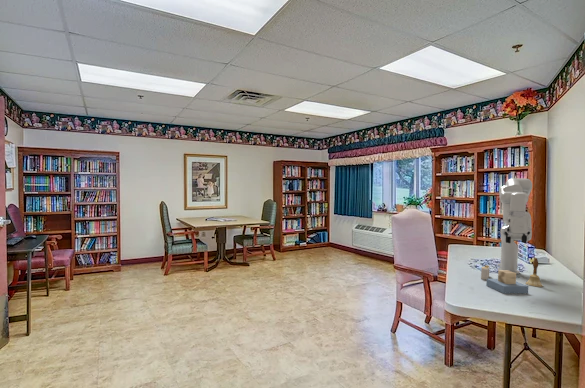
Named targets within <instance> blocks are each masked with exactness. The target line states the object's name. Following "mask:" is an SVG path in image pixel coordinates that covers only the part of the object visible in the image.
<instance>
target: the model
mask: <svg viewBox="0 0 585 388" xmlns="http://www.w3.org/2000/svg"><path fill="white" fill-rule="evenodd" d="M480 269H481V273H480V280H485V281H487V279H489V277H490V265H487V264H484V266H481V268H480Z"/></svg>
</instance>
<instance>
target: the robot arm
mask: <svg viewBox="0 0 585 388" xmlns="http://www.w3.org/2000/svg"><path fill="white" fill-rule="evenodd" d="M504 184H505V185H503V186H500V187H499V191H498V194H499V201H500V203H501V204H502V220H503V223H504V224H506V225H503V226H502V227H501V228H500V232H499V233H500V239H501V243H500V244H501V247H500V263H498V264H497V266H498V267H497V271H498V270H509V271H511V272H514V273H516V275H519V274H520V273H521V271H520V270H518V259H519V258H518V254H519V246H518V245H517V243H516V242H515V241H520V242H521V243H522V244H527V242H528V241H531V240H532V236H533V231H532V216H531V213H530V212H528V211H526V209H527V206H526V205H527V203H528V201H529V197H530V194H531V192H532V190H533V182H532V180H531V179H529V178H523V177H522V178H518V177H517V178H514V177H513V178H509V179H508V180H507V181H506V182H505V183H504Z"/></svg>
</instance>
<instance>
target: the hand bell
mask: <svg viewBox="0 0 585 388" xmlns="http://www.w3.org/2000/svg"><path fill="white" fill-rule="evenodd" d="M538 266H539V260H538V258H536V257H534V259H533V261H532V267H533V271H532V274H530V275H529V279H528V280H527V281H526V282H525V285H526V286H532V287H536V288H543V286H544V284H542V282H541V280H540V276H539V275H538Z"/></svg>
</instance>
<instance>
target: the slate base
mask: <svg viewBox="0 0 585 388" xmlns="http://www.w3.org/2000/svg"><path fill="white" fill-rule="evenodd" d="M486 286H487V287H489V288H491V289H493V290H495V291H497V292H500V293H501V294H510V293H528V294H529V285H527V284H524V283H521V282H518V281H516V284H504V283H502V282H500V281H498V278H488V279H487V280H486Z"/></svg>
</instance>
